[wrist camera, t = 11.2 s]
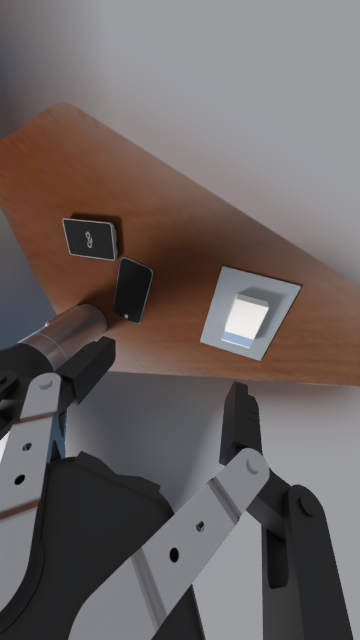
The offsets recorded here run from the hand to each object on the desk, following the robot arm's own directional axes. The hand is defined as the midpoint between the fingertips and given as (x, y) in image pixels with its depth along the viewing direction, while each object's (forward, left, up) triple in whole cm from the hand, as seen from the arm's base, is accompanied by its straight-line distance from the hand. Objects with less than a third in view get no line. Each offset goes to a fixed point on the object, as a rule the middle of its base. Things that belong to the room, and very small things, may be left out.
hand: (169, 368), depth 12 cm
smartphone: (-17, -11, -29) cm, 35 cm away
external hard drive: (-26, -1, -29) cm, 39 cm away
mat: (+8, -9, -28) cm, 31 cm away
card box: (+8, -9, -28) cm, 30 cm away
